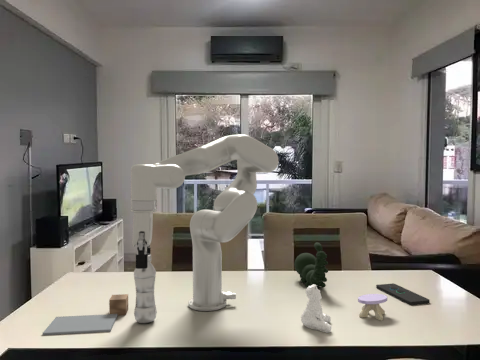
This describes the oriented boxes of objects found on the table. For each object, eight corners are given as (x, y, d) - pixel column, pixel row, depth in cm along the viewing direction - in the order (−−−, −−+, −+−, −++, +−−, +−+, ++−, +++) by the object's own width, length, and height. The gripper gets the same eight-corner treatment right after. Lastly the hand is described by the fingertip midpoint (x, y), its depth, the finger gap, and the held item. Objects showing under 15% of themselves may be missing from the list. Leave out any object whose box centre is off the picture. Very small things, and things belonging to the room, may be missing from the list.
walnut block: (128, 309, 132) (128, 294, 132) (126, 315, 127) (125, 299, 127) (112, 310, 131) (112, 294, 131) (109, 315, 126) (109, 299, 126)
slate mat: (117, 315, 126) (117, 313, 126) (110, 331, 114) (110, 329, 114) (56, 318, 124) (56, 316, 124) (42, 335, 112) (42, 333, 112)
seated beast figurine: (331, 333, 113) (332, 290, 112) (300, 331, 114) (300, 289, 114) (330, 320, 122) (330, 281, 121) (301, 319, 123) (301, 279, 123)
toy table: (380, 309, 132) (380, 291, 131) (395, 320, 123) (395, 301, 122) (351, 311, 130) (351, 293, 130) (364, 322, 121) (364, 303, 121)
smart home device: (394, 282, 156) (431, 299, 137) (394, 287, 157) (430, 304, 137) (375, 284, 154) (409, 301, 135) (375, 289, 154) (409, 306, 135)
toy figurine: (333, 297, 149) (310, 273, 173) (335, 246, 146) (312, 229, 171) (308, 298, 147) (288, 274, 171) (310, 247, 145) (290, 230, 169)
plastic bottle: (160, 318, 123) (160, 253, 123) (148, 327, 117) (148, 258, 116) (142, 316, 126) (141, 251, 125) (129, 324, 119) (128, 256, 118)
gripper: (134, 203, 128) (133, 258, 128) (126, 209, 111) (126, 272, 111) (158, 203, 129) (158, 257, 129) (154, 209, 112) (154, 271, 112)
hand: (143, 264), depth 120 cm, fingers open, 9 cm apart
